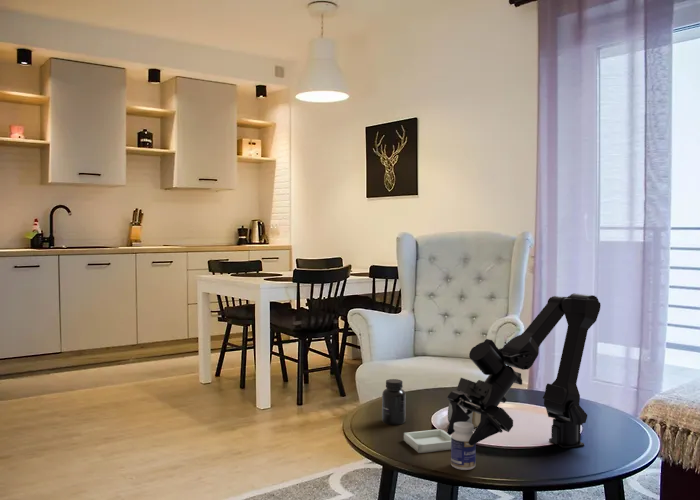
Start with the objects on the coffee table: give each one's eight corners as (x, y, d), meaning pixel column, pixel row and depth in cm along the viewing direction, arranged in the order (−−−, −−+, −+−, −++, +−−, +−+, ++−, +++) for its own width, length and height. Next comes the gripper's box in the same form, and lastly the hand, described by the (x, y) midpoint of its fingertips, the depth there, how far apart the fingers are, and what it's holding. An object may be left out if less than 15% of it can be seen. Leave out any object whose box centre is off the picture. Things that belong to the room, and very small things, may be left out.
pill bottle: (467, 472, 143) (468, 429, 143) (446, 466, 147) (446, 424, 147) (480, 465, 148) (480, 423, 147) (459, 459, 151) (459, 419, 151)
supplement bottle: (378, 423, 180) (378, 382, 180) (386, 417, 186) (386, 377, 186) (401, 426, 177) (401, 384, 177) (408, 419, 184) (408, 379, 183)
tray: (441, 436, 169) (441, 428, 169) (458, 448, 159) (458, 440, 159) (403, 440, 165) (403, 432, 165) (418, 453, 156) (419, 445, 156)
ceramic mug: (474, 431, 173) (475, 403, 173) (446, 426, 177) (447, 399, 177) (486, 422, 182) (487, 395, 182) (459, 417, 186) (460, 392, 186)
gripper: (453, 358, 157) (416, 408, 152) (503, 373, 140) (463, 429, 135) (478, 386, 161) (442, 435, 156) (530, 404, 144) (492, 459, 139)
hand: (458, 439), depth 147 cm, fingers open, 8 cm apart
